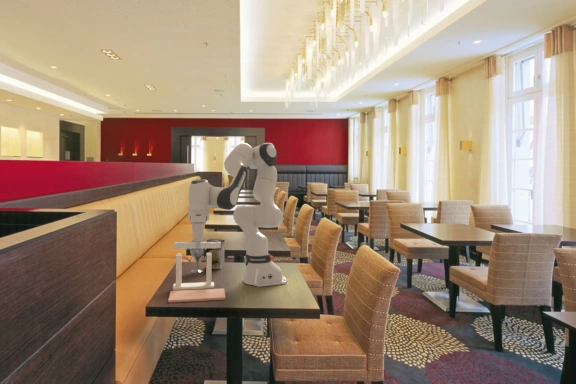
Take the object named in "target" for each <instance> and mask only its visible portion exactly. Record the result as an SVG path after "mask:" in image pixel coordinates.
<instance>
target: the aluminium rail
mask: <svg viewBox="0 0 576 384" xmlns="http://www.w3.org/2000/svg"><path fill="white" fill-rule="evenodd" d="M193 248H196V241H174V244H173V249H174V250H179V249H183V250H186V249H189V250H190V249H193ZM200 248H205V249H206V248H221V242H207V241H200Z"/></svg>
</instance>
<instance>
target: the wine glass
mask: <svg viewBox="0 0 576 384" xmlns="http://www.w3.org/2000/svg"><path fill="white" fill-rule="evenodd" d="M205 250H206V248H193V249H189V251H190V255H191V256H192V258H193V259H194V260H195V264H196V269H192V270H190V273H193V274H201V272H202V273H204V270H203V269H199V261H200V259H202V257H203V256H204V255H205Z"/></svg>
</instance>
